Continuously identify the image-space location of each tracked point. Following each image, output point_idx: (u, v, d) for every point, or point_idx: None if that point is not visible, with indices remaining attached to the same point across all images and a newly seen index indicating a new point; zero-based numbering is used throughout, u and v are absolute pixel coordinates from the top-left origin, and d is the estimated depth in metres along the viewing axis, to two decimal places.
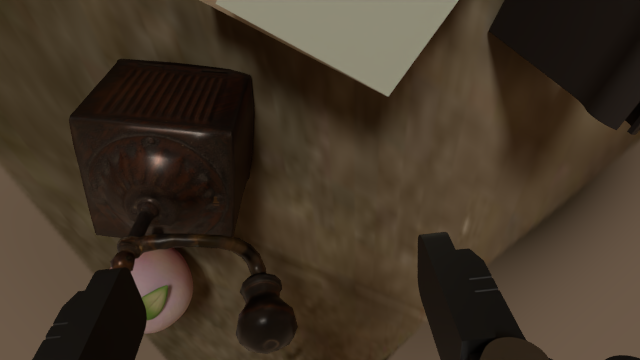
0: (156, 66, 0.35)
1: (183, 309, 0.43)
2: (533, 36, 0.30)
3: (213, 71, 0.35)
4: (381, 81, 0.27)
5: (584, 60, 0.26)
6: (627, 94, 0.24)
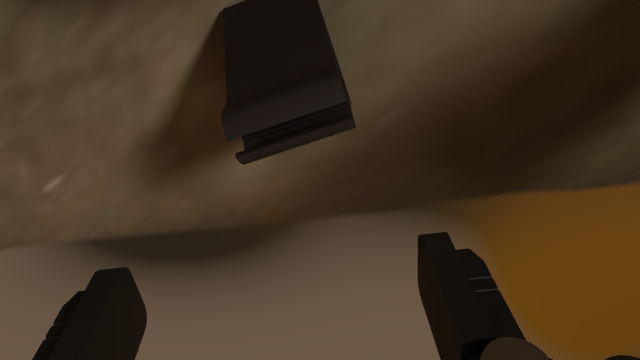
0: None
1: None
2: (246, 34, 0.27)
3: None
4: None
5: (259, 75, 0.24)
6: (259, 115, 0.22)
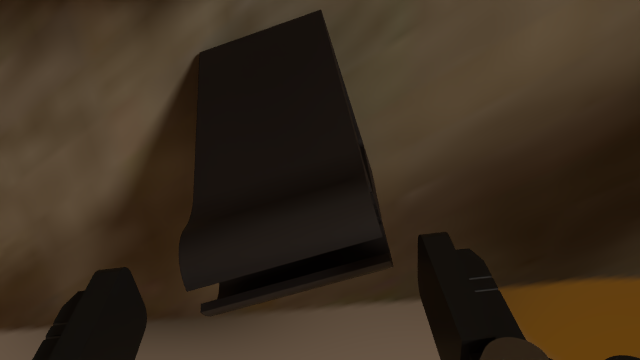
0: None
1: None
2: (228, 96, 0.19)
3: None
4: None
5: (243, 168, 0.16)
6: (238, 252, 0.13)
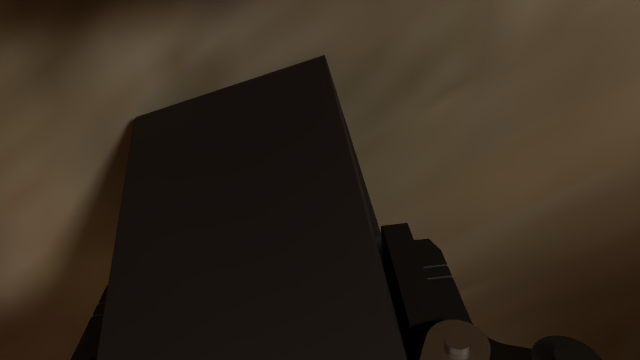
0: None
1: None
2: (169, 208, 0.11)
3: None
4: None
5: None
6: None
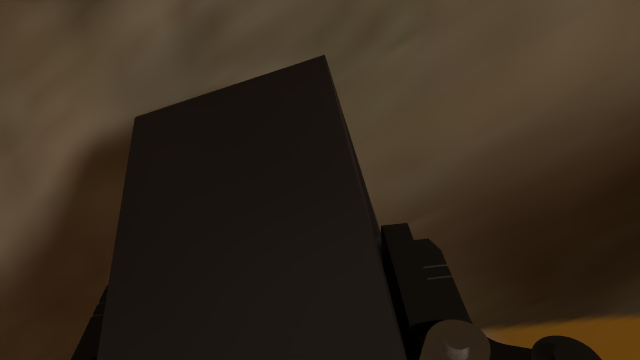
0: None
1: None
2: (170, 207, 0.11)
3: None
4: None
5: None
6: None
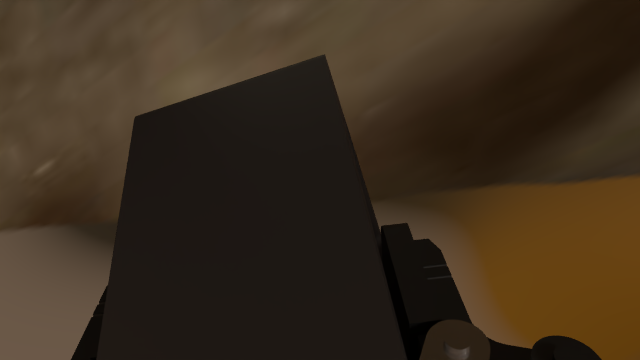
0: None
1: None
2: (169, 206, 0.11)
3: None
4: None
5: None
6: None
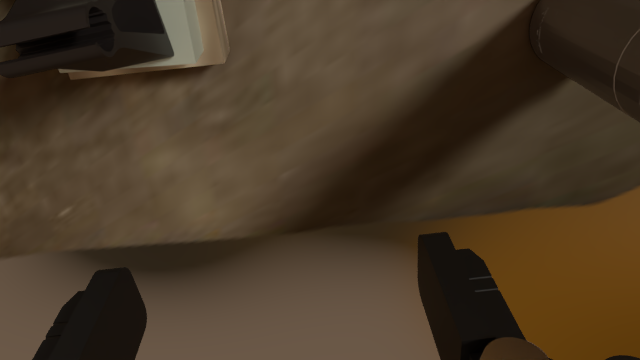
0: None
1: None
2: None
3: None
4: None
5: (40, 3, 0.27)
6: (12, 30, 0.24)
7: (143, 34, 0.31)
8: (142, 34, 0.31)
